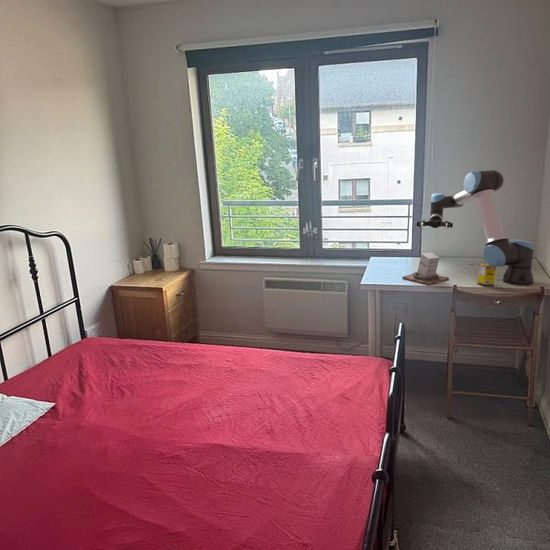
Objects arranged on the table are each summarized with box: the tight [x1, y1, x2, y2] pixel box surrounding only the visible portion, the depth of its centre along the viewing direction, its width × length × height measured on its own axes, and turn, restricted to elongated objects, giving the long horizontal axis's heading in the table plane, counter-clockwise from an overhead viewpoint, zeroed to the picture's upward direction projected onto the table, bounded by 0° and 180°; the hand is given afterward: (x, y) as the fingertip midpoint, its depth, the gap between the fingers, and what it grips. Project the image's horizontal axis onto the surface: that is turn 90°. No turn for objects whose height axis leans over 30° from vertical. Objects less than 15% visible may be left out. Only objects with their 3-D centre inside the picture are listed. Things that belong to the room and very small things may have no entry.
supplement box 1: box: [416, 251, 440, 277], centre depth 277 cm, size 7×7×13 cm
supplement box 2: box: [477, 263, 497, 287], centre depth 265 cm, size 6×6×11 cm
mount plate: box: [402, 271, 450, 286], centre depth 279 cm, size 18×18×3 cm
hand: (433, 226), depth 283 cm, fingers open, 13 cm apart
